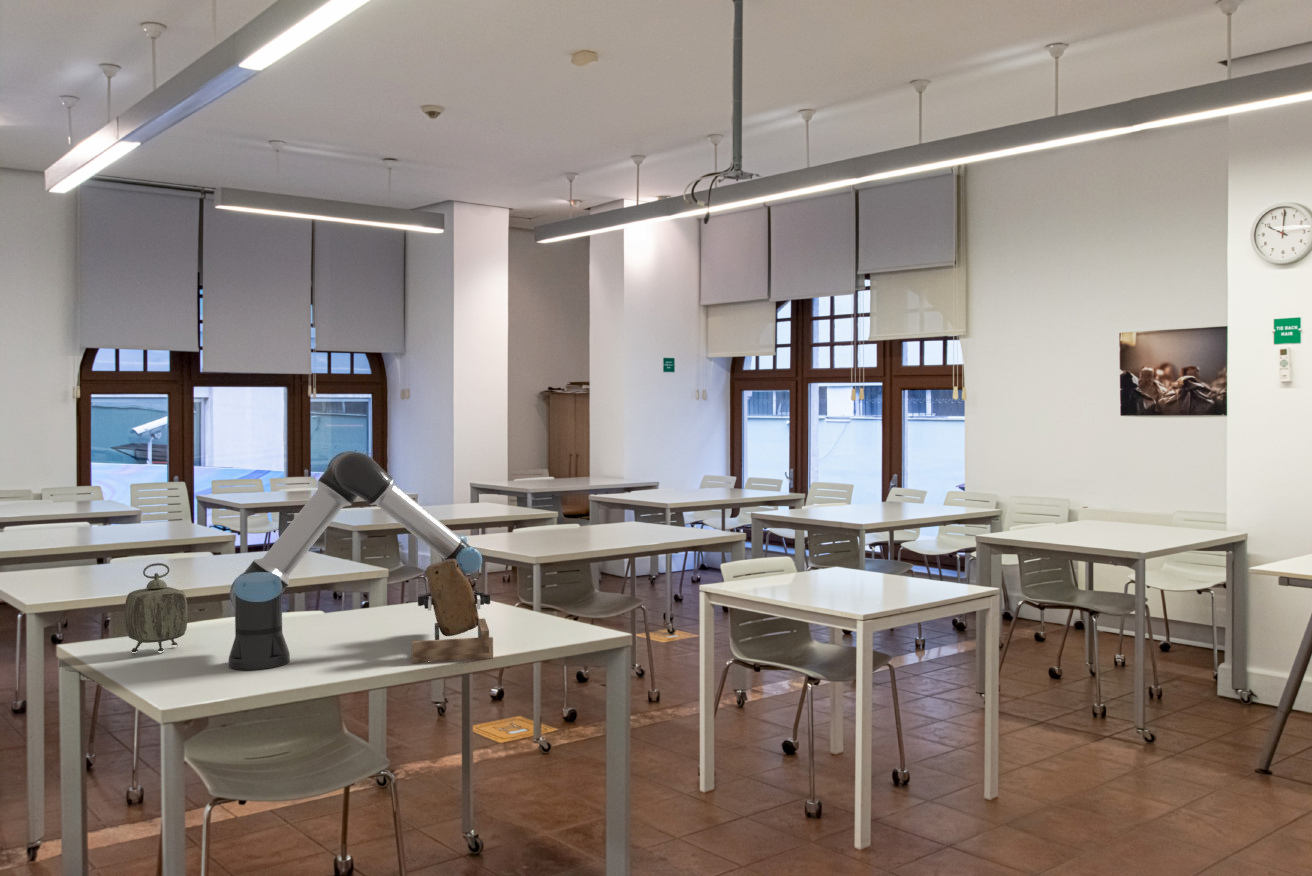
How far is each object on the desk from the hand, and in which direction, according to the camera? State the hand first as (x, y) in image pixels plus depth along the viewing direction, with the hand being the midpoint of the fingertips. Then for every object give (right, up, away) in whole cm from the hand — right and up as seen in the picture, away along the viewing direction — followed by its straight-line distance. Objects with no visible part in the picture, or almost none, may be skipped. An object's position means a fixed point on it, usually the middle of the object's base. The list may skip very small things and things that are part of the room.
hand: (454, 604), depth 278 cm
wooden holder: (-1, -14, +3) cm, 14 cm away
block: (+1, -8, +4) cm, 9 cm away
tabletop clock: (-85, -15, +10) cm, 87 cm away
